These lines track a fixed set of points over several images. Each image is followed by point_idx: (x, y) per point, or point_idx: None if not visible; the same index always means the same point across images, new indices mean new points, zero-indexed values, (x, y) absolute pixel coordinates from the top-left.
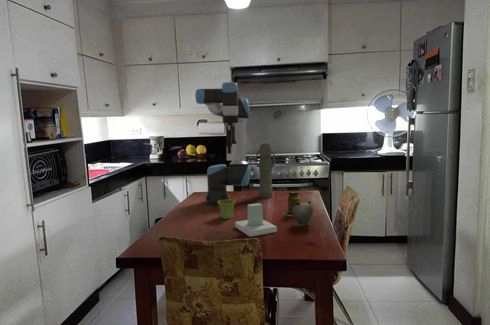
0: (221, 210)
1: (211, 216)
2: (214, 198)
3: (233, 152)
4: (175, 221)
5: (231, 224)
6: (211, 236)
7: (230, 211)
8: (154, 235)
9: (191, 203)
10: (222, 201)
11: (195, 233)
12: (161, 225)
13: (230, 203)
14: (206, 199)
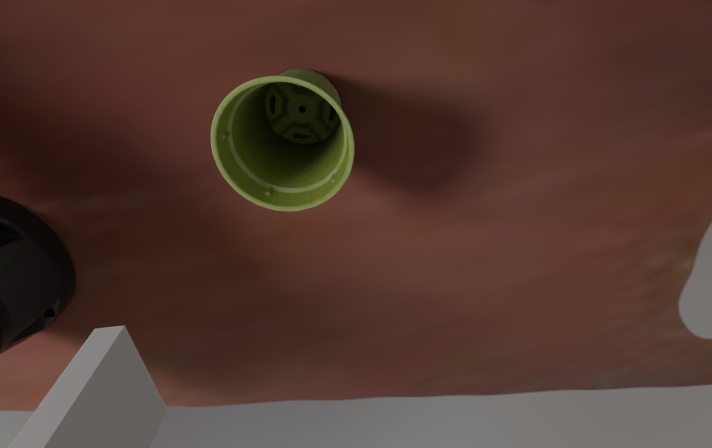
0: (337, 151)
1: None
2: (41, 283)
3: (94, 433)
4: (439, 344)
5: (449, 28)
6: (705, 84)
7: (323, 86)
8: (669, 355)
9: None
10: (248, 186)
11: (643, 190)
12: (513, 377)
13: (231, 122)
14: (50, 323)
